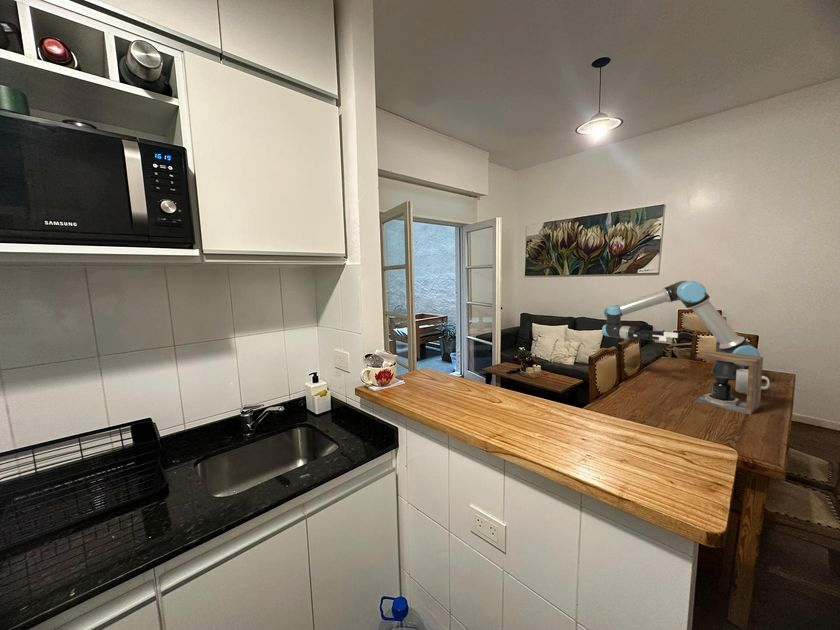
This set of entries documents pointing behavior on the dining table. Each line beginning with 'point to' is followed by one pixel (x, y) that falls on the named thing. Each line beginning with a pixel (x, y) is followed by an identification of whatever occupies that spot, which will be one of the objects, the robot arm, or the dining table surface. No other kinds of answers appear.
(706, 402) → the awning stand
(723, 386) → the supplement bottle
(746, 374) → the mug
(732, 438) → the dining table surface
